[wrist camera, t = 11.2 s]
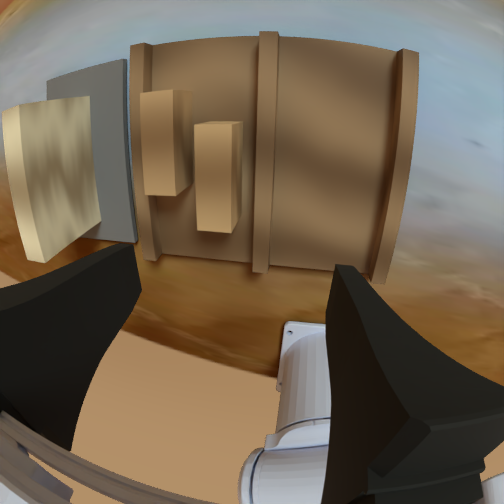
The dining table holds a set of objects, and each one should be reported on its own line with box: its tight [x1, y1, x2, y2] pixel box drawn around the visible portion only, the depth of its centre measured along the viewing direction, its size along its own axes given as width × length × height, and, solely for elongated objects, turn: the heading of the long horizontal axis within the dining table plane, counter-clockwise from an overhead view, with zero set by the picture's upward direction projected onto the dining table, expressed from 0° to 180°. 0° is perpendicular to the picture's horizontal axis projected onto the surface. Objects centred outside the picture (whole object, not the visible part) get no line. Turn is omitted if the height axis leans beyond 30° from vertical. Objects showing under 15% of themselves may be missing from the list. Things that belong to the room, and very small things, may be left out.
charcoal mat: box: [47, 59, 138, 243], centre depth 20 cm, size 14×8×1 cm, turn 178°
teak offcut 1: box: [140, 89, 194, 196], centre depth 16 cm, size 6×2×3 cm, turn 178°
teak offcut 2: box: [194, 121, 243, 233], centre depth 17 cm, size 6×2×3 cm, turn 178°
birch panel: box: [2, 96, 101, 263], centre depth 17 cm, size 10×2×7 cm, turn 178°
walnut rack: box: [130, 31, 419, 284], centre depth 17 cm, size 15×17×2 cm
